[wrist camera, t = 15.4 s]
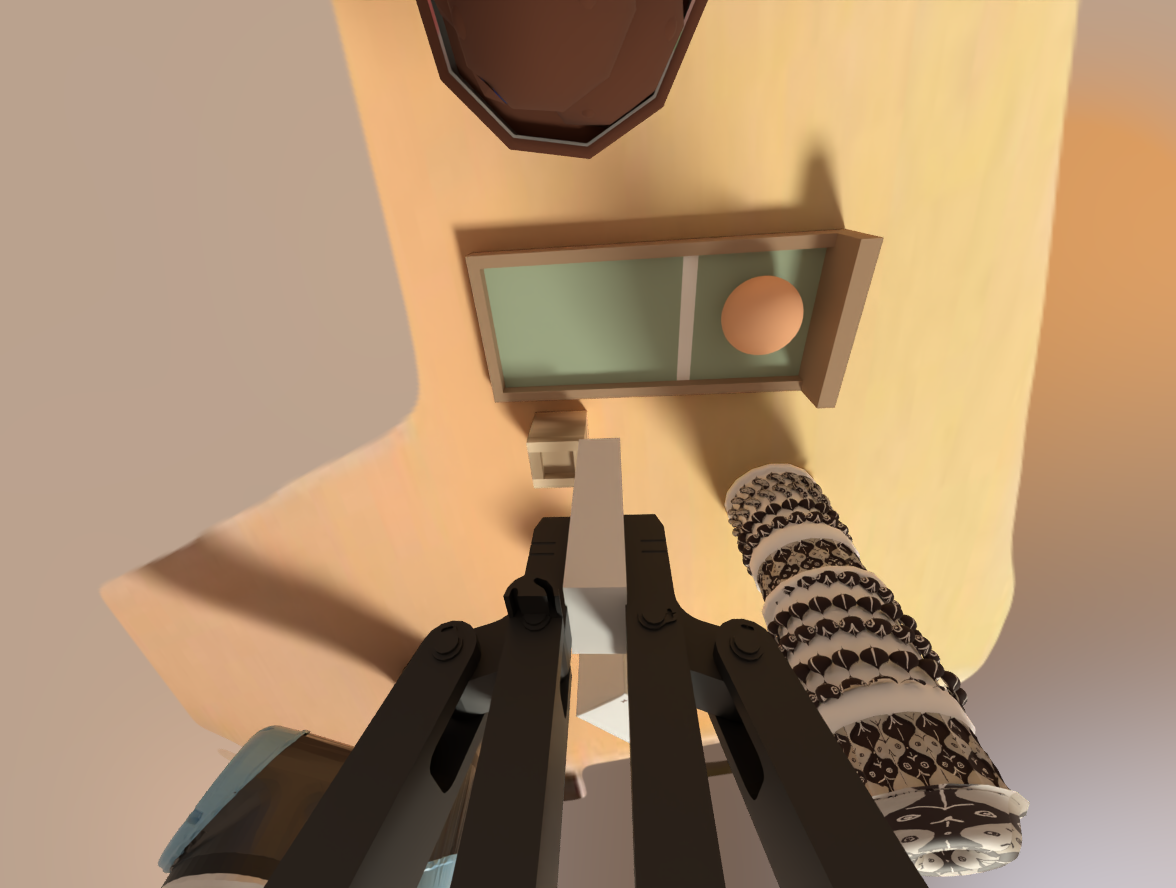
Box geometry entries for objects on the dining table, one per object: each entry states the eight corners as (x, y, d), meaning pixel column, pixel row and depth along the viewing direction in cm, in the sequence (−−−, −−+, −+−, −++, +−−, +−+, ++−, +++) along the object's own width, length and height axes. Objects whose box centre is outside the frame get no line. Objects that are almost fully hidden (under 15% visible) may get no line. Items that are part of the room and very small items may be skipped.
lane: (499, 393, 35) (486, 420, 31) (471, 253, 29) (451, 264, 25) (808, 381, 33) (834, 407, 29) (845, 228, 27) (883, 237, 24)
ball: (742, 342, 32) (699, 349, 29) (757, 272, 30) (713, 271, 27) (805, 358, 28) (765, 367, 25) (828, 279, 26) (786, 280, 23)
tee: (541, 454, 38) (534, 488, 34) (535, 412, 36) (526, 442, 32) (589, 453, 38) (587, 486, 34) (586, 410, 35) (584, 440, 31)
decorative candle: (770, 442, 36) (991, 808, 15) (842, 488, 39) (1120, 860, 18) (700, 507, 41) (798, 862, 20) (769, 546, 43) (922, 898, 22)
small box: (581, 595, 49) (573, 717, 38) (621, 570, 46) (625, 693, 35) (628, 626, 52) (633, 748, 41) (668, 604, 49) (685, 728, 38)
